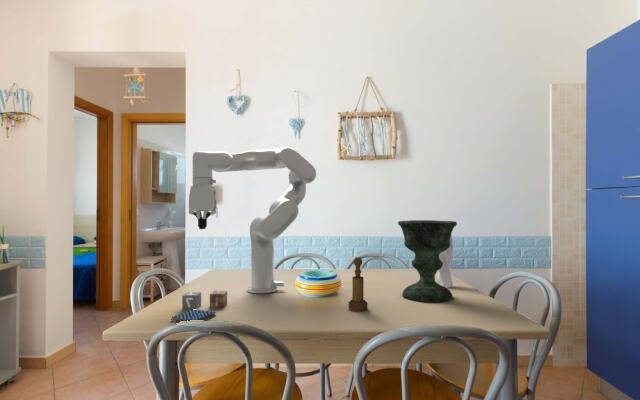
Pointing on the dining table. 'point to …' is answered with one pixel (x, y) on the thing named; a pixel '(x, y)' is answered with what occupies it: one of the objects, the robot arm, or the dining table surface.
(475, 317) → the dining table surface
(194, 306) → the charcoal number block
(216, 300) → the walnut number block
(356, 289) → the brown tall piece
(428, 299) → the goblet
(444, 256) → the skyscraper
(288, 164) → the robot arm
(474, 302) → the dining table surface
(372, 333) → the dining table surface
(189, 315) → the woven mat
